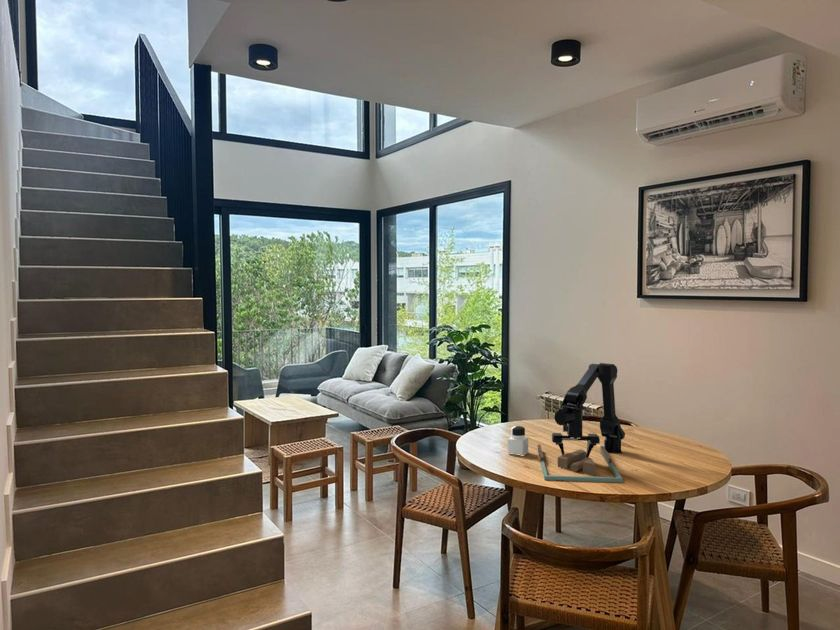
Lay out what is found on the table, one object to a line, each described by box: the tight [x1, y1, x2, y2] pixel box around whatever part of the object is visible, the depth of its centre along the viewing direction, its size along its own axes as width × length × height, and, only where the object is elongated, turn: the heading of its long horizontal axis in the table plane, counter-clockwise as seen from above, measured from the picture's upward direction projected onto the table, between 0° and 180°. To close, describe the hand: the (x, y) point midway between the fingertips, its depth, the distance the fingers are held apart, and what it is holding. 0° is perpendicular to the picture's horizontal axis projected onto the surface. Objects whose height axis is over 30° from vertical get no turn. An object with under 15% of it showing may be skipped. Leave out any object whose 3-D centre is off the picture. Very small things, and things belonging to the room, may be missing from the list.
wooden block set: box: [557, 449, 597, 477], centre depth 230 cm, size 17×6×18 cm
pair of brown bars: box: [537, 444, 613, 466], centre depth 243 cm, size 28×20×3 cm
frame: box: [540, 461, 623, 484], centre depth 223 cm, size 28×19×2 cm
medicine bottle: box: [507, 425, 529, 456], centre depth 251 cm, size 7×7×12 cm
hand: (575, 458), depth 235 cm, fingers open, 9 cm apart
